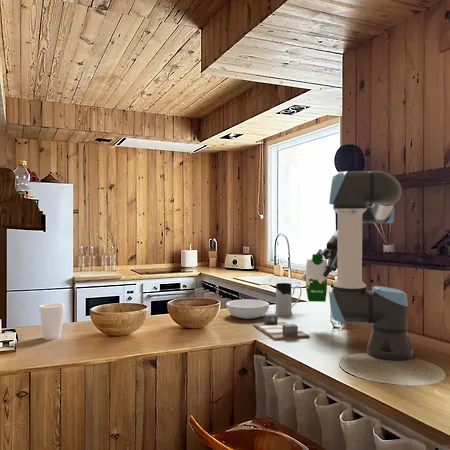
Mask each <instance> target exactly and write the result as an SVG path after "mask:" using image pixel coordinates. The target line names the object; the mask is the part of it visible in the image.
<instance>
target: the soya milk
mask: <svg viewBox="0 0 450 450" xmlns="http://www.w3.org/2000/svg"><path fill="white" fill-rule="evenodd" d="M311 256H312V257H311V258H309V257H308V258H307V259H306V264H305V266H306V267H305V268H306V269H305V270H306V281H305V288H306V289H305V291H306V295H307V296H306V297H307V300H308V302H314V303H315V302H321V303H322V302H323V303H326V301H327V300H326V299H327V291H328V276H327V277H326V278H325V279H324V281H323V282H322V283H321V284H320V283H319V282H318V281H317V278H318V277H319V275H320V274H321V273H322V271H323V270H324V269H325V268H326V266H327V264H328V259H327V260H326V259H322V255H321V254H316V253H315V254H312V255H311ZM326 269H327V268H326Z"/></svg>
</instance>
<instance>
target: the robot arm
mask: <svg viewBox="0 0 450 450" xmlns="http://www.w3.org/2000/svg"><path fill="white" fill-rule="evenodd" d="M402 194H403V193H402V186H401V183H400V182H399V181H398V180H397V179H396V177H394V176H393V175H391V174H389V173H388V172H384V171H382V170H346V171H337V172H335V173H334V174H333V176H332V179H331V185H330V193H329V200H328V201H329V202H328V203H329V205H332V206H333V207H332V208H333V211H334V212H335V213H336V214H337V229H336V231H335V232H334V233H333V235H332V236H331V237H330V239H329V240H328V241H327V243H326V248H324V249H323V250H322V249H321V248H320V249H319V248H318V251H317V253H315V254H321V255H322V259H326V260H327V266H326V268H327V269H326V268H325V269H324V270H323V271H322V273H321V274H320V275H319V277H318V278H317V281H318V282H319V283H320V284H321V283H322V282H323V281H324V279H325V278H326V277H327V278H328V277H329V275H330V273H332V272H336V271H337V275H336V276H337V279H336V280H335V282H333V283H332V287H331V288H330V289H329V290H328V297H329V307H330V312H331V318H332V319H333V320H334V321H335V322H341V323H342V322H343V323H347V324H348V323H357V324H358V323H359V324H371V326H372V330H371V334H370V337H369V340H368V343H367V345H366V352H367V354H368V355H370V356H372V357H373V358H379V359H383V360H389V361H390V360H391V361H404V360H409V359H412V358H413V353H414V351H413V347H412V344H411V340H410V338H409V335H408V308H409V303H408V295H407V293H406V292H405V291H403V290H402V289H401V290H400V289H396V288H393V287H387V286H383V285H381V286H378V285H375V286H372V288H371V289H372V290H368V289H367V285H366V283H364V281H363V224H392V223H394V221H395V207H394V205H396V204H397V203H398V202H399V201H400V199H401V197H402ZM301 279H302V280H303V281H304V282H306V269H305V270H304V272H303V274H301Z"/></svg>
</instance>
